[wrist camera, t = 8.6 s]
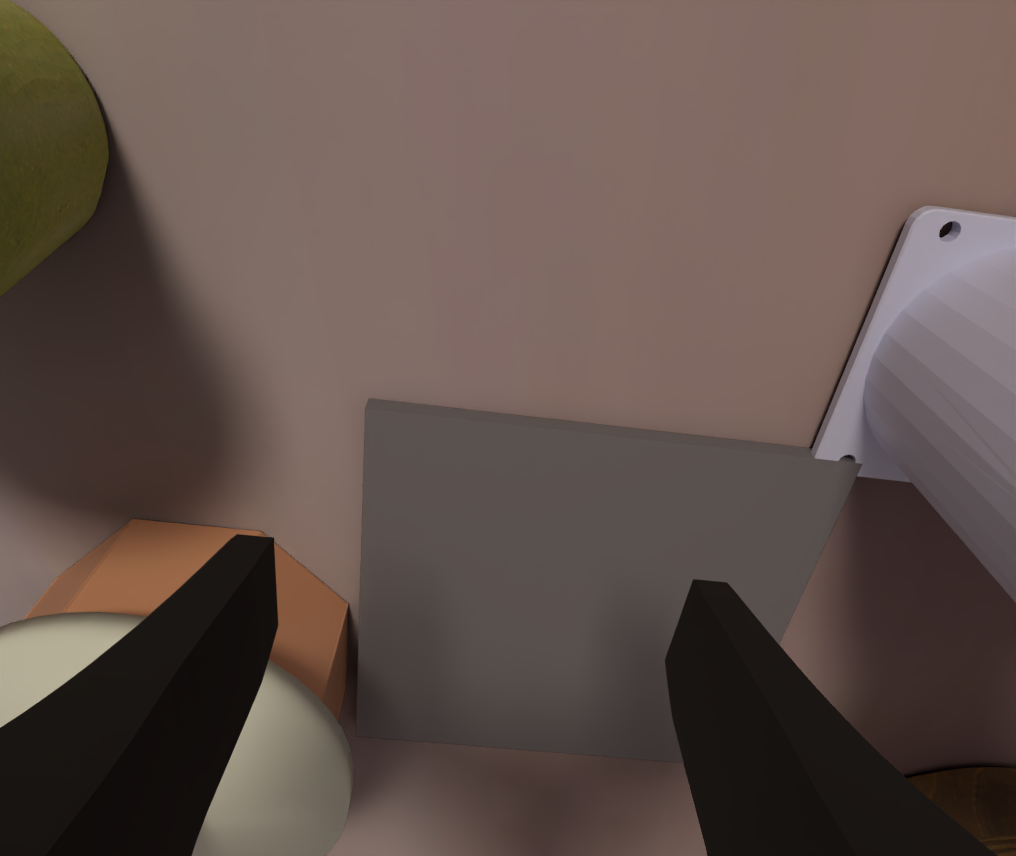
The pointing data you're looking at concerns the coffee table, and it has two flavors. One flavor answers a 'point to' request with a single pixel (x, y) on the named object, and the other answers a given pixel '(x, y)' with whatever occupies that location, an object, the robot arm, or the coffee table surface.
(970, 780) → the wooden container
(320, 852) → the lid
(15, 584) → the coffee table surface
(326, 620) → the bowl
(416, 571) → the mat
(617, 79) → the coffee table surface
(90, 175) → the plant pot
